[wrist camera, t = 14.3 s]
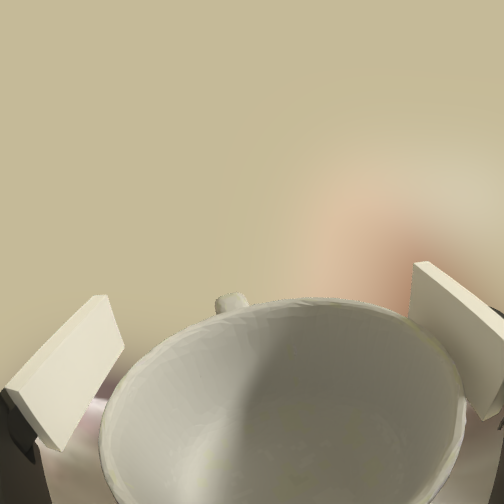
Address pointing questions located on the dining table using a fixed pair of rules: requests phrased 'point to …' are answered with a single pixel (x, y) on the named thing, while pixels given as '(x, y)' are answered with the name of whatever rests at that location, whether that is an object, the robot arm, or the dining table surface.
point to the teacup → (286, 409)
